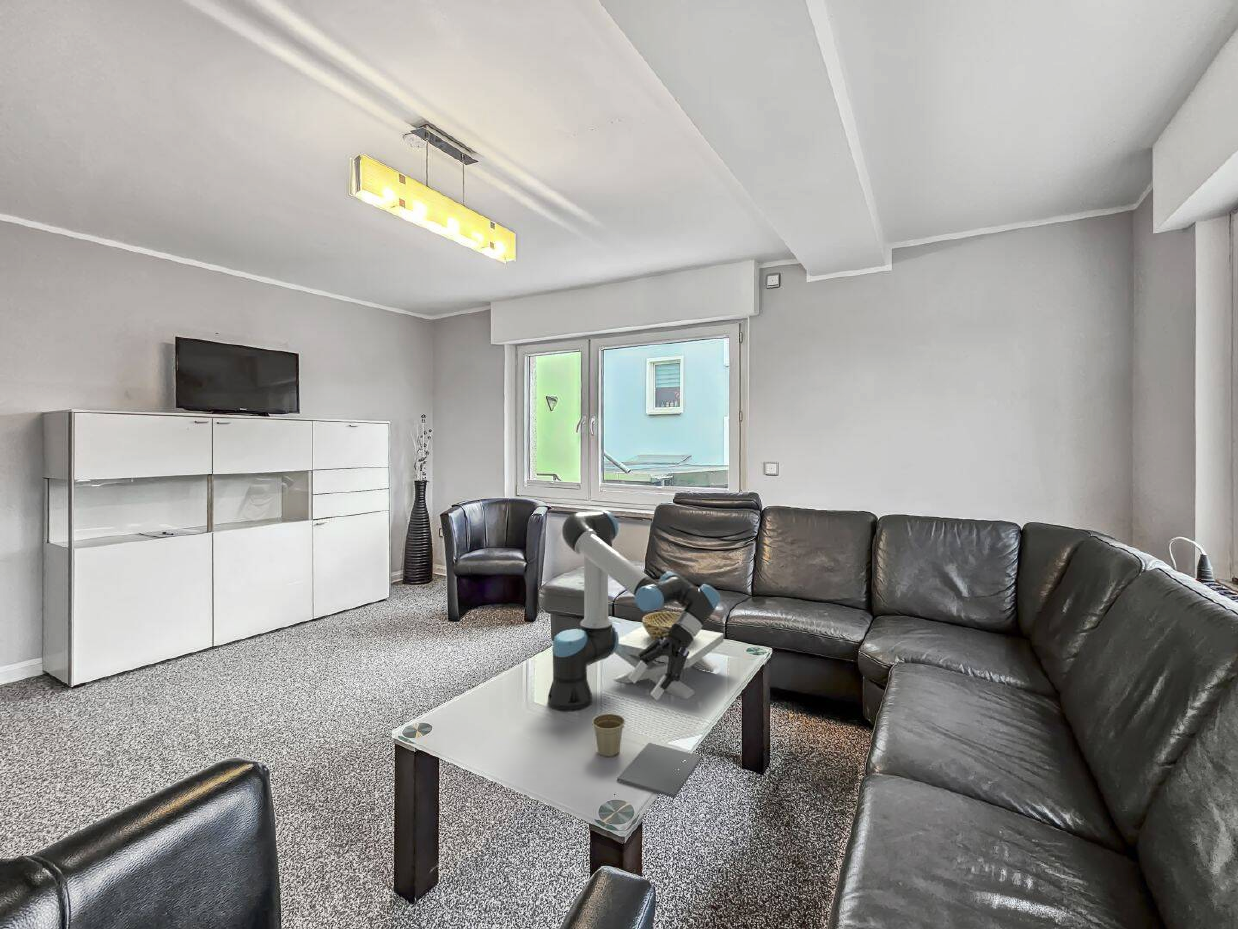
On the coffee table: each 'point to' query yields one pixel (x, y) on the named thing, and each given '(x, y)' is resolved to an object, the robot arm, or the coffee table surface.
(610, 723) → the flower pot
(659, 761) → the charcoal mat
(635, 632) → the white x-leg stand
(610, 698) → the coffee table surface
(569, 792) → the coffee table surface
